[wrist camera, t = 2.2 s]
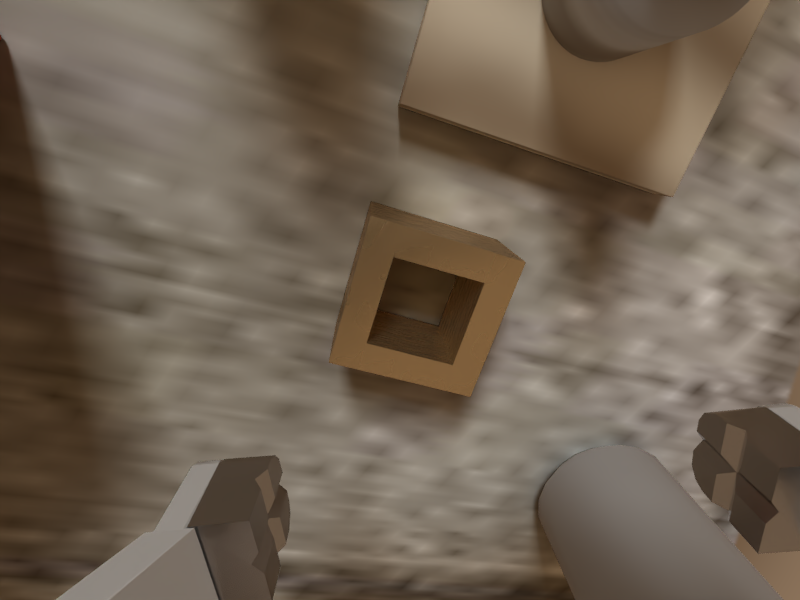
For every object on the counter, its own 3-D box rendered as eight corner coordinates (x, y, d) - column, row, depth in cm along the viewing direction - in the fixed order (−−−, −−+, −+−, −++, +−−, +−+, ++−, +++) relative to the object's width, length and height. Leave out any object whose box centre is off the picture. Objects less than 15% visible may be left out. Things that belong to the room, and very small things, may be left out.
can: (505, 499, 26) (612, 782, 14) (601, 411, 24) (807, 652, 13) (590, 556, 28) (743, 843, 16) (685, 477, 26) (928, 738, 15)
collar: (453, 353, 22) (470, 396, 18) (336, 323, 21) (328, 362, 17) (496, 239, 20) (525, 262, 17) (370, 201, 19) (370, 215, 16)
